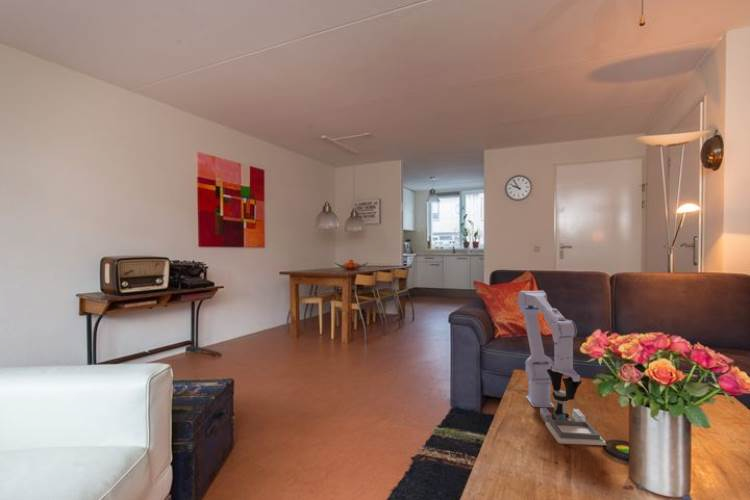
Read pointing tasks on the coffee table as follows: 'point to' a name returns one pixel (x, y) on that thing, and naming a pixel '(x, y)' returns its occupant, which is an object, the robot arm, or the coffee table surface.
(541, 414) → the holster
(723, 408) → the coffee table surface
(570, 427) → the port dock
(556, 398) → the push button
